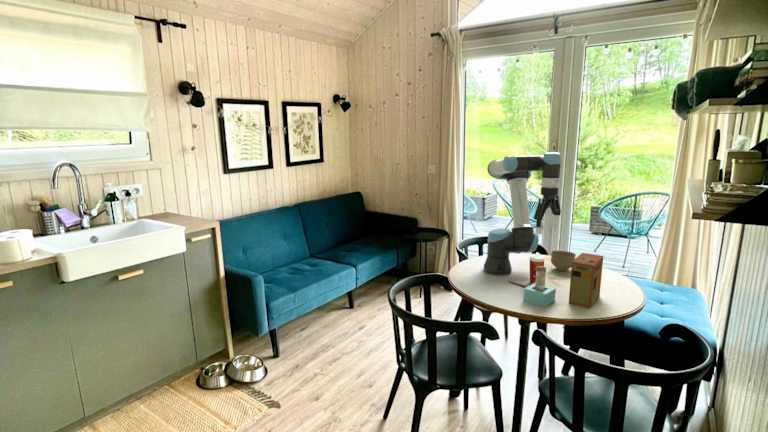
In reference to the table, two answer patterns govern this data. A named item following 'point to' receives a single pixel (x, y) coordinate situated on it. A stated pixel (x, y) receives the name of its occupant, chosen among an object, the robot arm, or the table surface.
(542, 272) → the wooden dowel roller
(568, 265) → the bowl
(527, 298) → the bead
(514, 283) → the brown wooden stick
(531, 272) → the paper cup
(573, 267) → the box
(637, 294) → the table surface
